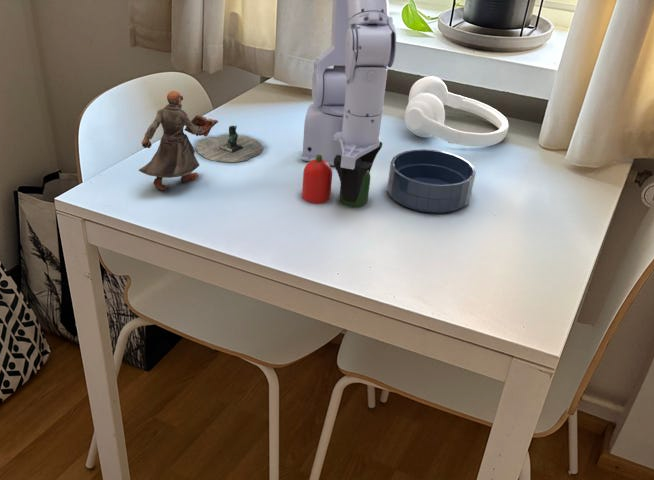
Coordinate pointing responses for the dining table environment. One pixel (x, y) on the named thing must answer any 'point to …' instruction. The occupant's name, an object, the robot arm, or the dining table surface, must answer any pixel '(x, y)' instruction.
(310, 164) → the red pepper
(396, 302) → the dining table surface
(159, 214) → the dining table surface
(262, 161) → the dining table surface
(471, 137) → the headphones
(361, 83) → the robot arm
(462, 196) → the shallow round dish
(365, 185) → the green pepper
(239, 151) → the sculpture
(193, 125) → the figurine
